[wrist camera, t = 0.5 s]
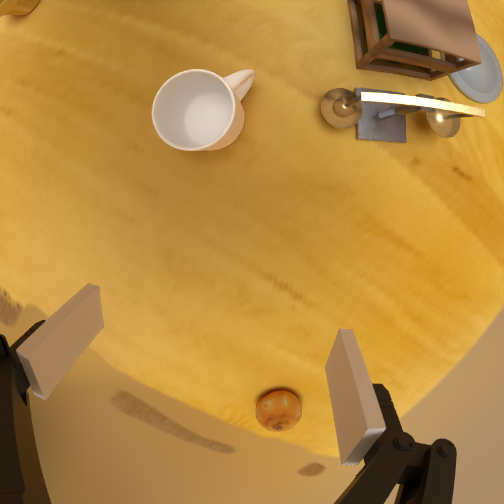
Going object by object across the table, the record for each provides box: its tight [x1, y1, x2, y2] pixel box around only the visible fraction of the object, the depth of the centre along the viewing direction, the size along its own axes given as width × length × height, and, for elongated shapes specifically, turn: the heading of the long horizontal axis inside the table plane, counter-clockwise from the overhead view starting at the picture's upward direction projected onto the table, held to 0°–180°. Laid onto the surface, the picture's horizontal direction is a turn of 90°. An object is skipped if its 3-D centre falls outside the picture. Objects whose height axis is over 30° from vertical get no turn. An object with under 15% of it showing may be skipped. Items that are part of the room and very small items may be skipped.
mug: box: [152, 69, 255, 151], centre depth 31 cm, size 9×12×11 cm
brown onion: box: [256, 390, 302, 432], centre depth 48 cm, size 8×8×8 cm
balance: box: [321, 88, 485, 143], centre depth 27 cm, size 7×18×16 cm, turn 92°
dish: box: [440, 33, 503, 103], centre depth 29 cm, size 13×13×1 cm
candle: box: [364, 4, 428, 63], centre depth 25 cm, size 8×8×10 cm
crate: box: [347, 0, 482, 81], centre depth 24 cm, size 12×12×13 cm
